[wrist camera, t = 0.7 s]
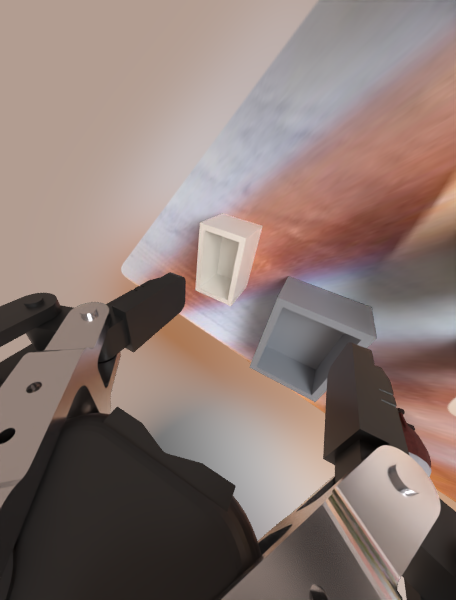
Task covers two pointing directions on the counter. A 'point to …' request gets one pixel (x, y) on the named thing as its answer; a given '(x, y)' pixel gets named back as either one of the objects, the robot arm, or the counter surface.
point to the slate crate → (310, 336)
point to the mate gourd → (415, 445)
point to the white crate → (225, 256)
